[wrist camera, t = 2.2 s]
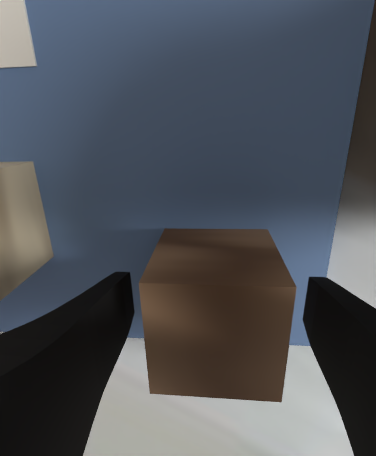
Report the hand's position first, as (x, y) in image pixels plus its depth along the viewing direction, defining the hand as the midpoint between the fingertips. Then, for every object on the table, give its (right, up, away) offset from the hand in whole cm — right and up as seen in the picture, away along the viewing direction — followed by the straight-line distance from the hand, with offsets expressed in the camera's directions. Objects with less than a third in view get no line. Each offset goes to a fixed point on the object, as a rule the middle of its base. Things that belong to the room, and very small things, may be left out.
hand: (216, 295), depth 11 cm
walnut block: (0, +1, +2) cm, 2 cm away
